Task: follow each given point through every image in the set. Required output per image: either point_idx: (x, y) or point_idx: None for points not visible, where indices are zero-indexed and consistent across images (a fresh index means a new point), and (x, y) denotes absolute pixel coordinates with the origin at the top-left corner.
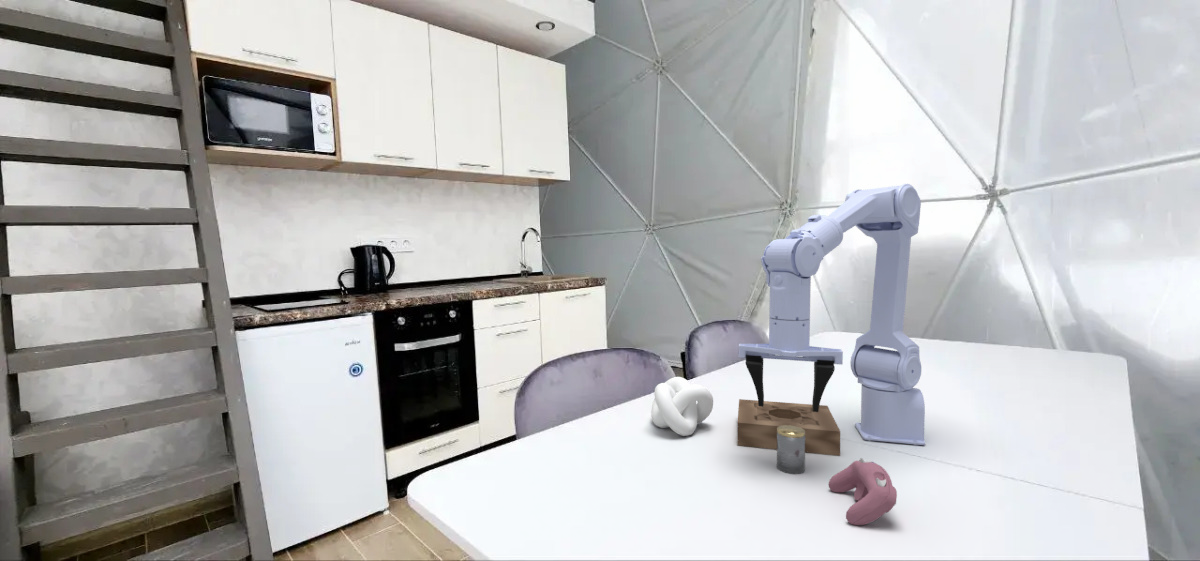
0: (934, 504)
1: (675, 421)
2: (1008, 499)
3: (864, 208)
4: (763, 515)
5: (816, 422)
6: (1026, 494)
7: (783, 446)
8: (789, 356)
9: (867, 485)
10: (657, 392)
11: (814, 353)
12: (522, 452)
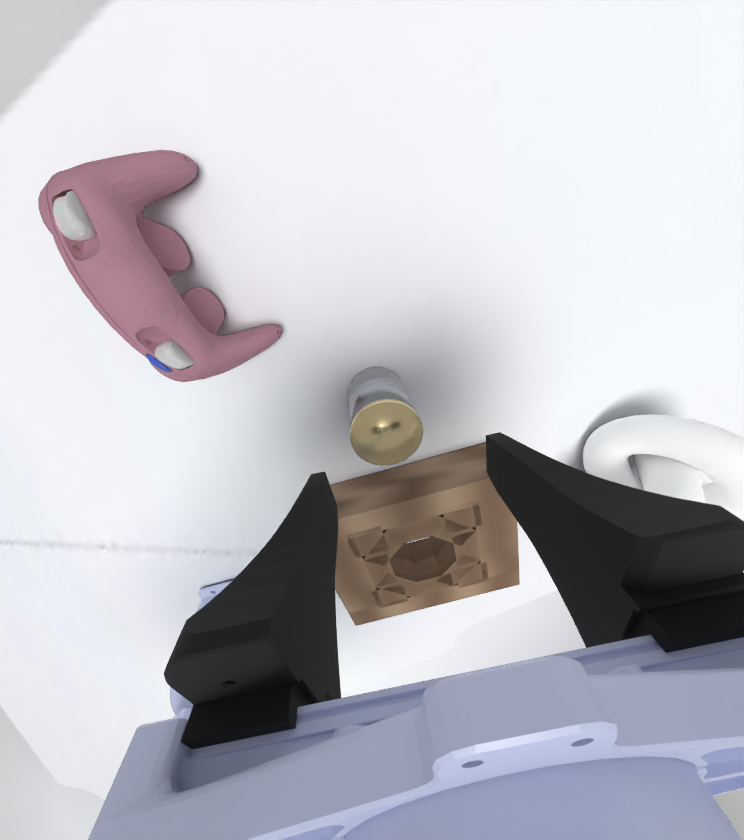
0: (98, 379)
1: (656, 421)
2: (15, 467)
3: None
4: (380, 82)
5: (355, 549)
6: (5, 500)
7: (394, 389)
8: (495, 667)
9: (123, 217)
10: None
11: (276, 797)
12: None
